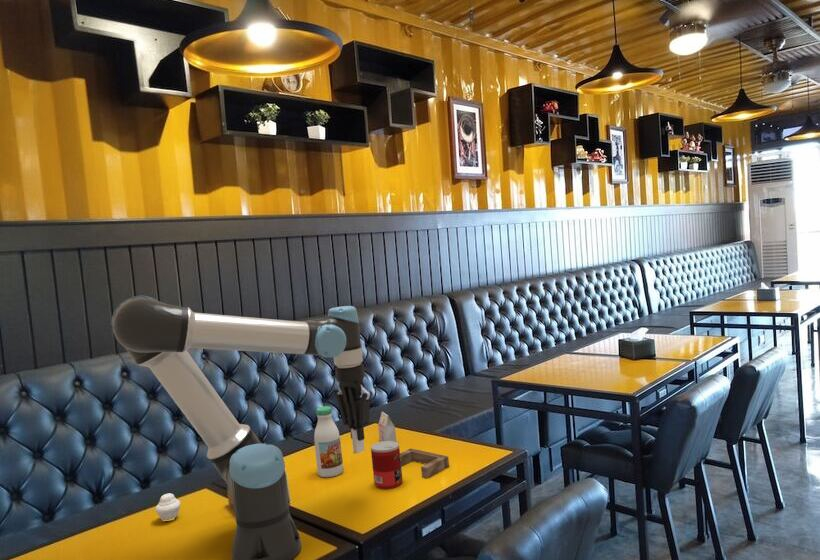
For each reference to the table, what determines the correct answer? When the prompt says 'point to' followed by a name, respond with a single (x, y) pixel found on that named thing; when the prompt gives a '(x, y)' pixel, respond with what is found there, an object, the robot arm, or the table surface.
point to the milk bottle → (327, 444)
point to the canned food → (386, 464)
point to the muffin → (168, 507)
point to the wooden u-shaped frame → (425, 461)
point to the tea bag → (386, 428)
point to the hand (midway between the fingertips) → (359, 451)
